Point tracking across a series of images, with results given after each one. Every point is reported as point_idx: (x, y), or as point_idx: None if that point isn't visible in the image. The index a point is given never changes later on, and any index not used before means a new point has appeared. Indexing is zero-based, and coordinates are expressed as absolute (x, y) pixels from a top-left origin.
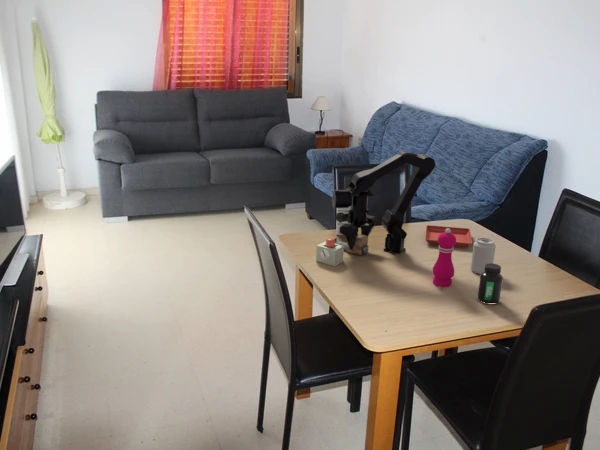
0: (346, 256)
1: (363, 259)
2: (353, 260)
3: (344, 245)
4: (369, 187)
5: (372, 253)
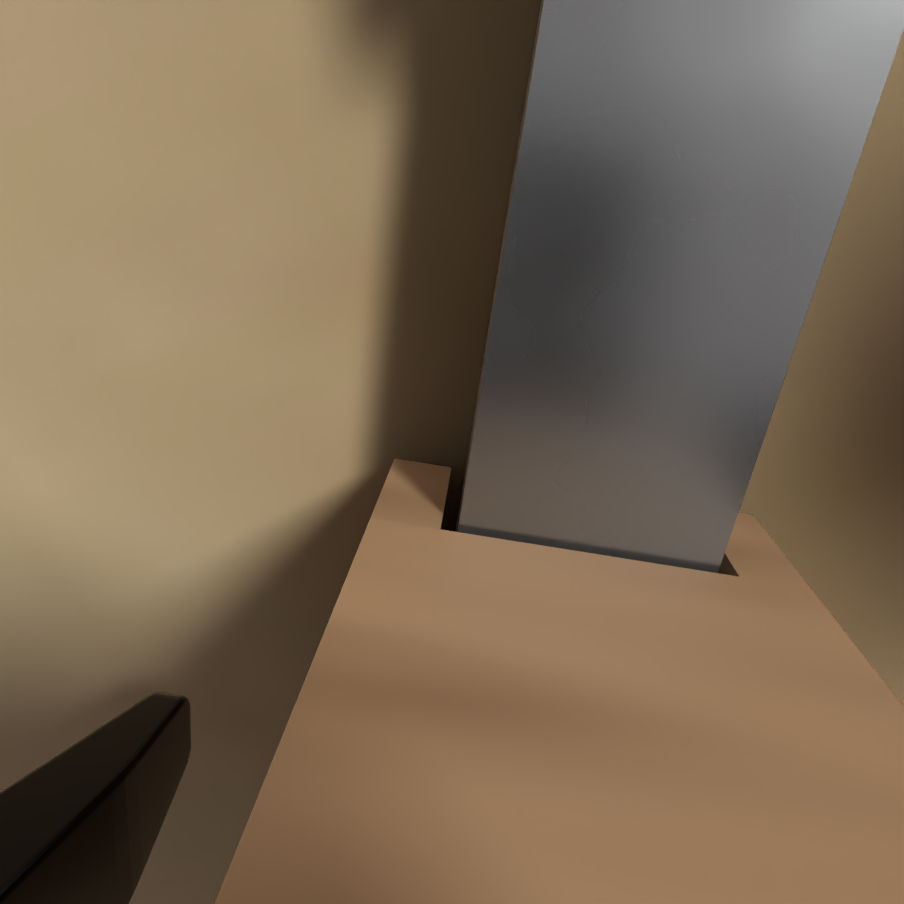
0: (147, 536)
1: (232, 841)
2: (59, 718)
3: (490, 377)
4: None
5: None
